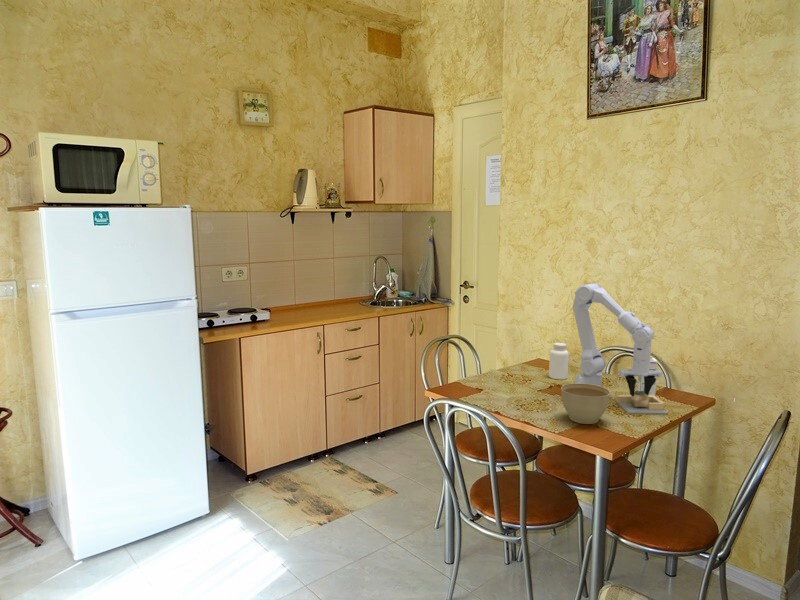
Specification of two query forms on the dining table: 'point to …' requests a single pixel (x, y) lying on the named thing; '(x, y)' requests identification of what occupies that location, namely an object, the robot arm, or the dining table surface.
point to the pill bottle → (558, 361)
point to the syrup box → (641, 378)
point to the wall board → (653, 407)
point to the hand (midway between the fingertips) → (638, 395)
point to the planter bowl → (585, 402)
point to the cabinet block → (640, 399)
